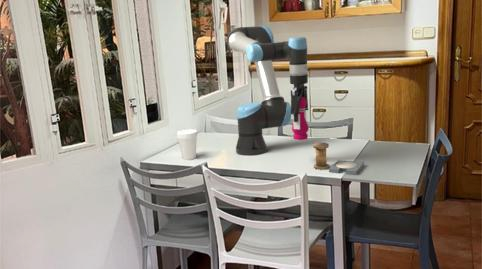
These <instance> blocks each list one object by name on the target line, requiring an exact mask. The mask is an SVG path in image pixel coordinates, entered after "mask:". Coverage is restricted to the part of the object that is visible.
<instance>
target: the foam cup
mask: <svg viewBox="0 0 482 269" xmlns="http://www.w3.org/2000/svg"><path fill="white" fill-rule="evenodd" d="M176 137H177V140H178V144H179V149H180V154H181V157H182V160H184V161H190V160H194V159H196V158H197V142H198V141H197V140H198V139H197V137H198V131H197V129H183V130H178V131H177V132H176Z"/></svg>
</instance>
